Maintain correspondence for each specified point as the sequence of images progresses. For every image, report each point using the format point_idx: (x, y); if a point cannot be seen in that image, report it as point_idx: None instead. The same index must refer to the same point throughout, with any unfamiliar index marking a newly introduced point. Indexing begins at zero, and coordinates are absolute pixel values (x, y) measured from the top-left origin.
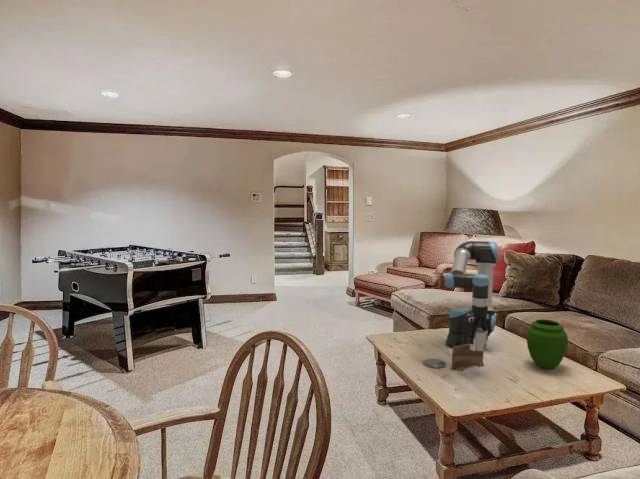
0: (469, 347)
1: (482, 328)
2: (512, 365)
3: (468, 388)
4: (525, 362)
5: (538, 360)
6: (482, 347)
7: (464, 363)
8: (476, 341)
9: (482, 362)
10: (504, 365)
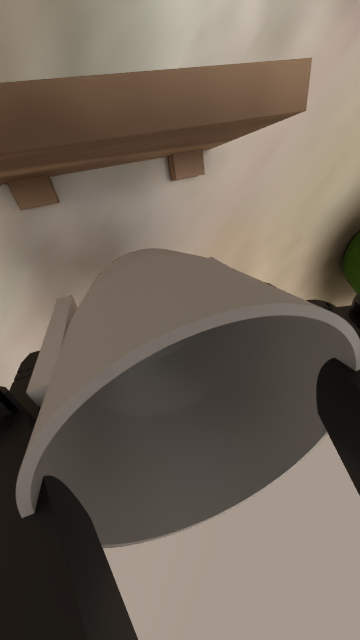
0: (127, 141)
1: (349, 389)
2: (300, 210)
3: (9, 379)
4: (356, 196)
5: (357, 277)
6: (154, 355)
7: (73, 169)
8: (103, 397)
9: (203, 162)
10: (277, 201)
